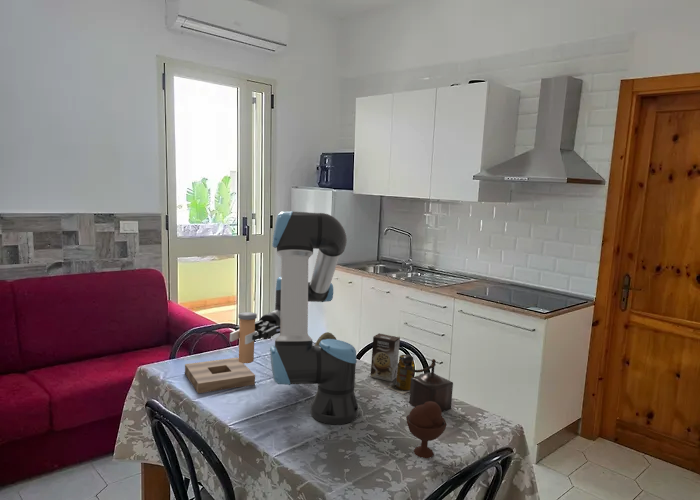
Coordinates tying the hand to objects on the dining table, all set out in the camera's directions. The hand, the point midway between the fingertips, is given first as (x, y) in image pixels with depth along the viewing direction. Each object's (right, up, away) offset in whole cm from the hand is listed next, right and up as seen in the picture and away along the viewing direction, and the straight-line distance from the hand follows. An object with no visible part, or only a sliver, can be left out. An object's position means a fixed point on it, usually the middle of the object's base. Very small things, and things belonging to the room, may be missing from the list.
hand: (238, 338), depth 158 cm
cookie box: (+49, -21, +31) cm, 62 cm away
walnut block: (-12, -18, +20) cm, 29 cm away
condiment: (+56, -22, +21) cm, 63 cm away
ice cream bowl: (+57, -27, -24) cm, 67 cm away
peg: (+1, -9, +6) cm, 10 cm away
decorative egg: (+27, -19, +36) cm, 48 cm away
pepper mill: (+61, -24, +6) cm, 66 cm away
